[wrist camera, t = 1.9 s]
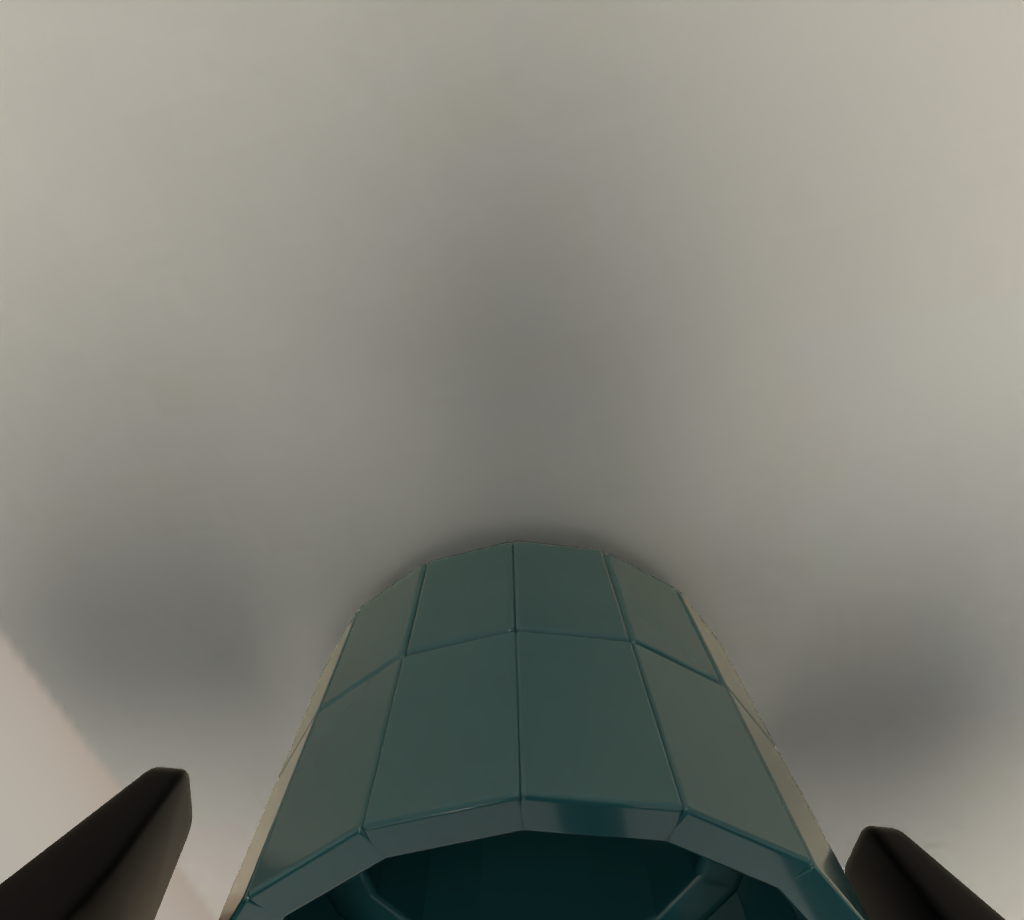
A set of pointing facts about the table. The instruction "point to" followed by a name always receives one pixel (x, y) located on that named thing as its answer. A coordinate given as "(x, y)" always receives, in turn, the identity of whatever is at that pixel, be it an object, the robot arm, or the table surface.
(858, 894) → the robot arm
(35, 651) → the table surface
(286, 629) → the table surface
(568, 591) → the bowl
